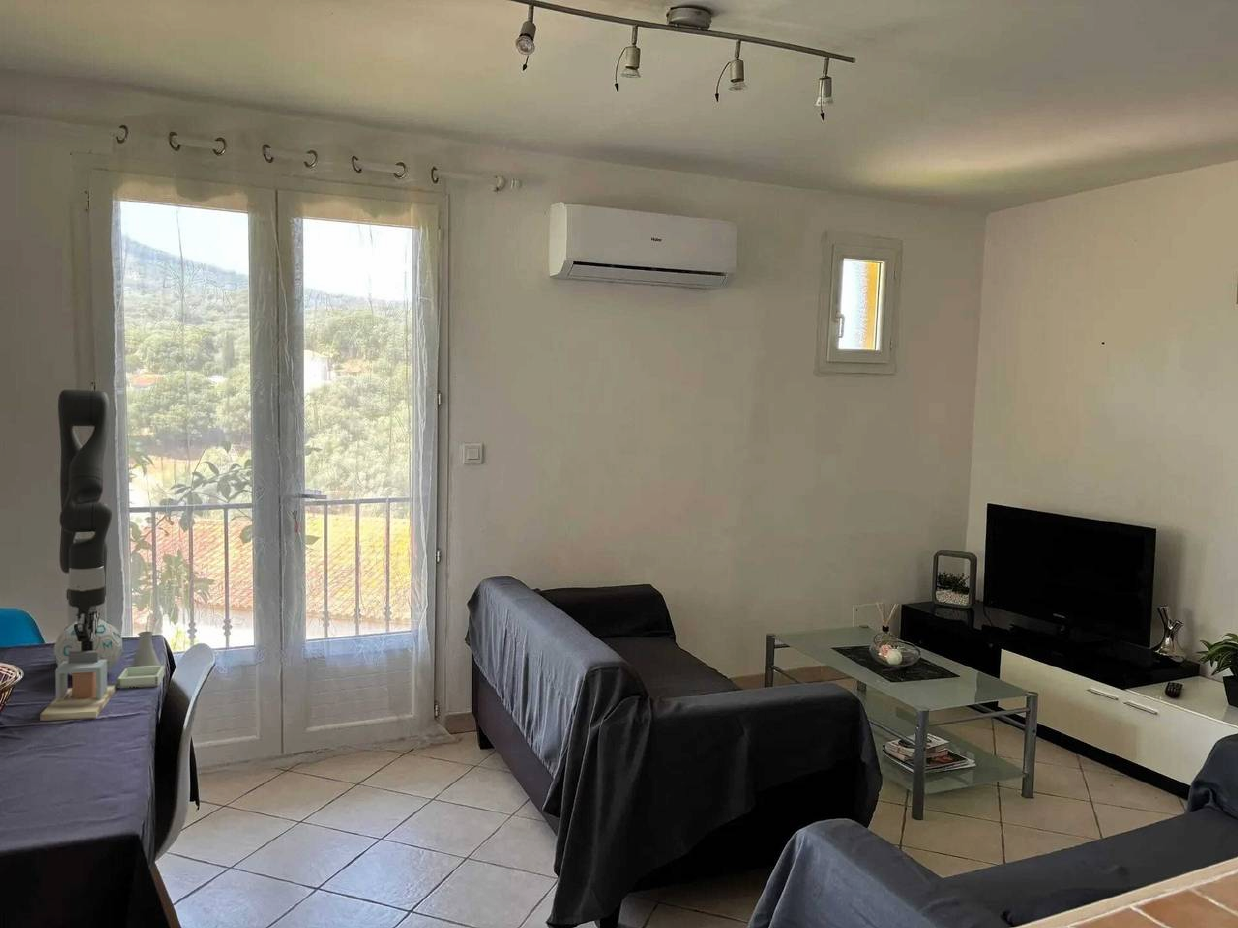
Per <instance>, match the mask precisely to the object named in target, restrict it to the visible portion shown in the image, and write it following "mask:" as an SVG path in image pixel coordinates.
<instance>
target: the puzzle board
mask: <svg viewBox="0 0 1238 928" xmlns="http://www.w3.org/2000/svg"><path fill="white" fill-rule="evenodd" d="M67 691H68V692H67V693H66V694H65V695H64V697H63V698H62V699H61V700H60V701H56V697H55V698H54V699H53V700H52V701H51V702H50V703H49V705H48V706H47V707H46V708H45V709H44V710H43V711H42V712H41V713H40V717H39V719H40V722H49V721H51V722H52V721H63V720H67V721H68V720H79V719H80V720H81V719H95V718H97V717H98V716H99V714H100V713H101V712H102V711H103V709H104V708H105V706H106V705H107V703H108V702H109V701H110V699H111V698H112V696H113V695H114V694H115V693H116V685H107V691H106V692H105V693H104V695H103V696H102V697H101V698H99V699H97V696H96V697H94V698H77V699H73V698H71V697H73V687H67ZM96 691H97V686H96Z"/></svg>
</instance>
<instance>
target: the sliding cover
mask: <svg viewBox="0 0 1238 928" xmlns="http://www.w3.org/2000/svg"><path fill="white" fill-rule="evenodd" d="M80 672H97V676H96V687H97V696H96V697H97V699H99V698H101V697H102V696H103V695H104V693H105V692H106V691H107V686H108V670H107V660H99V650H96V651H73V652H70V653H69V661H64V662H62V663H61V664H60V665H59V666H58V665H57V667H56V669H55V672H54V673H55V698H56V701H60V700H61V699H62V698H63V697H64V695H65V694H66V693H67V692H68V691H67V688H68V674H67V673H80Z"/></svg>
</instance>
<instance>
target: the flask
mask: <svg viewBox="0 0 1238 928" xmlns="http://www.w3.org/2000/svg"><path fill="white" fill-rule="evenodd" d="M153 634H154V633H153V632H152V631H149V630H148V631H141V632H139V633H138V636H139V642H138V646H137V650H136V653H135V655H134V658H133V660H132V661H131V665H130V667H146V666H162V665H161V662H160V661H159V658H158V657H157V654H156V652H155V649H154V646H153V641H152V635H153Z"/></svg>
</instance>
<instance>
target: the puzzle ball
mask: <svg viewBox="0 0 1238 928" xmlns="http://www.w3.org/2000/svg"><path fill="white" fill-rule="evenodd" d="M75 624H77V622H75V623H72V624H71V625H69V626H68V627H67V626H66V627H65V628H64V629H63V631H61V632H60V633H59V635H58V636H57V638H56V641H55V644H54V646H53V657H54V660H55V663H56V665H57V667H58V666H59V665H60V664H61V663H62V662H64V661H69V653H70V652H73V651H82V650H81V642H80V641H78V639H77V636H76V633H75V629H74V625H75ZM93 646H94V651H96V650H99V660H107V671H109V670H110V669H111V668H113V667H114V666H115V665H116V664H117V663H118V661H119V659H120V657H121V654H122V652H123V639H122V637H121V634H120V632H119V630H118V629H117V628H116V627H115V626H113V624H111V623H109V622H108V621H107V622H106V621H102V620H100V619H99V621H98V627H97V633H96V635H95V638H94V639H93ZM67 675H69V676H71V677H73V673H67ZM96 677H97V672H96Z"/></svg>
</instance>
